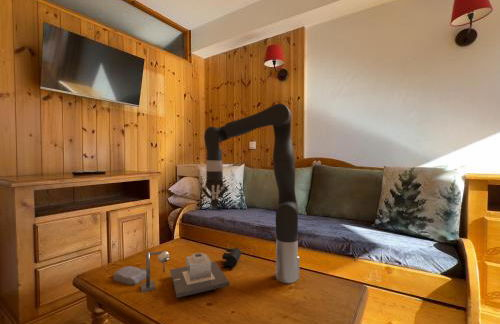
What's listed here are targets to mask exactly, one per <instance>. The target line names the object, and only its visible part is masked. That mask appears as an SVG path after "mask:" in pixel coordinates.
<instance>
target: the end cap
mask: <svg viewBox="0 0 500 324" xmlns="http://www.w3.org/2000/svg"><path fill="white" fill-rule="evenodd" d="M241 256H242V251H241V250H240V248H238V247H234V248H226V250H225V252H224V253H223V254H222V260H225V261H222V263H221V264H222V268H223V269H228V270H232V269H234V268H235V267H236V266H237V264H238V262H239V261H240V258H241Z"/></svg>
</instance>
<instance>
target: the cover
mask: <svg viewBox="0 0 500 324" xmlns="http://www.w3.org/2000/svg"><path fill="white" fill-rule="evenodd" d="M211 262H212V260H211V259H210V257H209V256H208V255H207V253H204V252H198V253H191V255H189V256H186V258H185V267H186V274H187V277H188V279H189V281H190V283H191V282H196V281H201V280H206V279H210V278H211Z"/></svg>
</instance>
